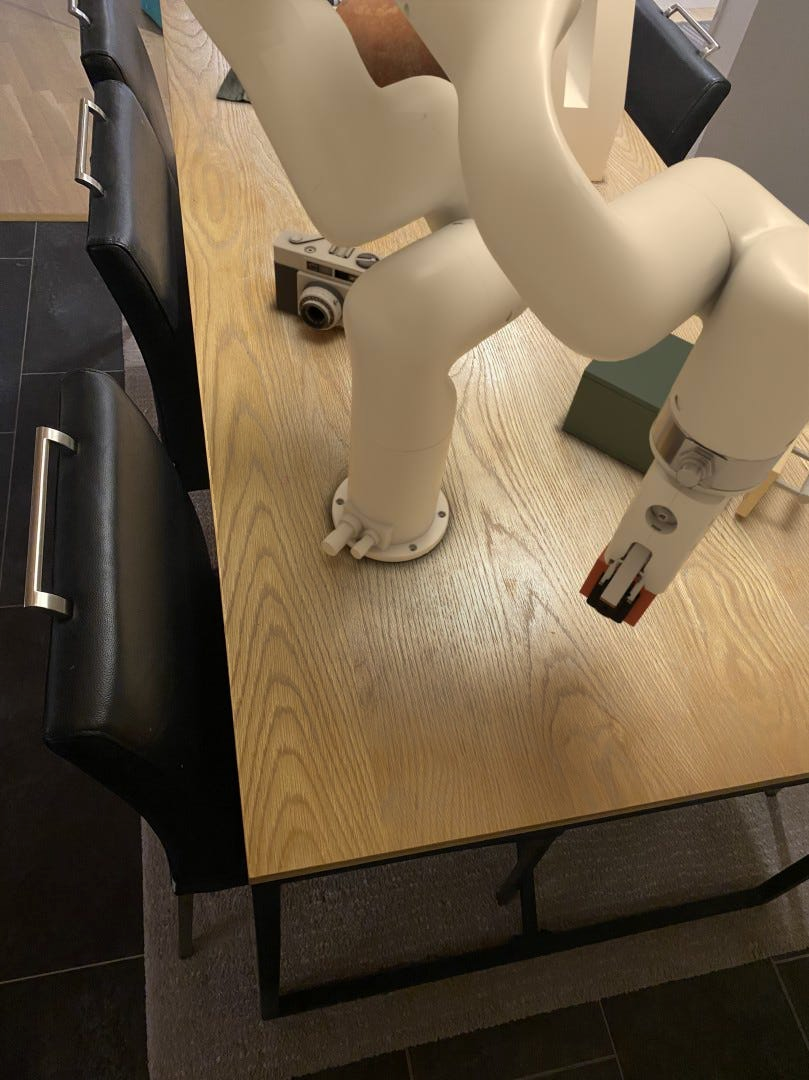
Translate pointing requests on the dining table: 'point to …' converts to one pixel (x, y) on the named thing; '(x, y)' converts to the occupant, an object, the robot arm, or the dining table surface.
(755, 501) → the drawer
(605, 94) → the beige slotted block
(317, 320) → the camera
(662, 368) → the cabinet
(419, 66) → the pottery
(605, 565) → the block
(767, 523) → the dining table surface
